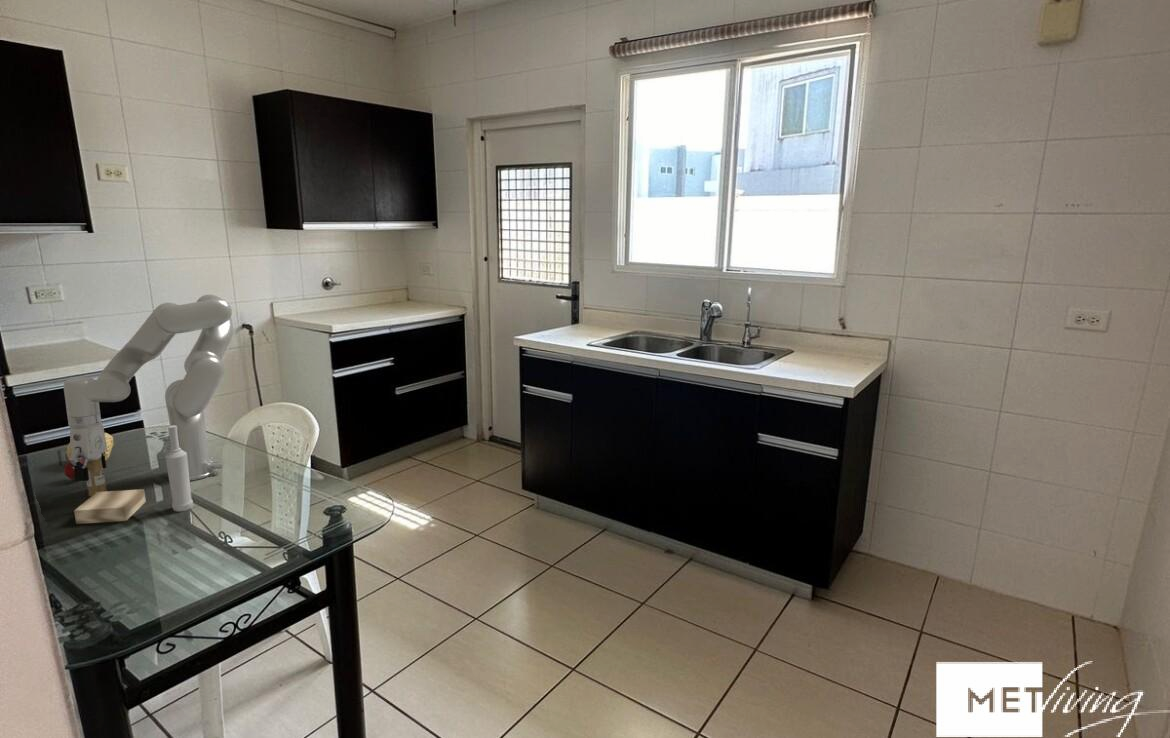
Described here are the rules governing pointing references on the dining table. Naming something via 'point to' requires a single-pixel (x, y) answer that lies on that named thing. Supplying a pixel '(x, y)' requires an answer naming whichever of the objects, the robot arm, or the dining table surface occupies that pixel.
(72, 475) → the red rounded lump
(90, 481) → the sprinkles bottle
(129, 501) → the wooden base
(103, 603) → the dining table surface
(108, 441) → the sculpture
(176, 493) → the bottle
